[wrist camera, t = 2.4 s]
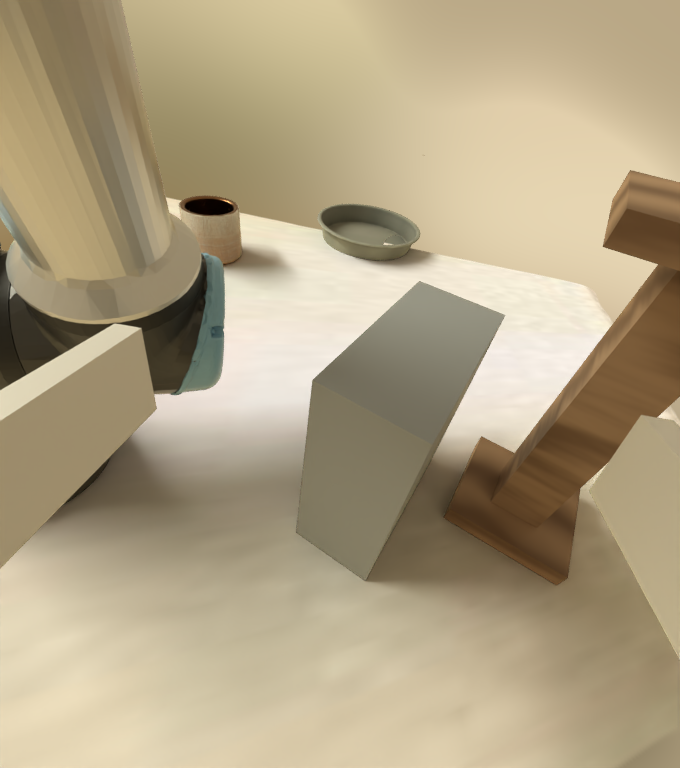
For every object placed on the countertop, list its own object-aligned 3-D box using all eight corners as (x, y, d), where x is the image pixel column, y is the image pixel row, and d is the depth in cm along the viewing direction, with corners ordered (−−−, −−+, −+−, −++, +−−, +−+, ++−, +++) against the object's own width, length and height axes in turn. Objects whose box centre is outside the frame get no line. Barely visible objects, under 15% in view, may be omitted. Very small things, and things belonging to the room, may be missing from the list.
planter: (224, 272, 72) (219, 221, 65) (174, 257, 74) (165, 206, 67) (251, 251, 80) (249, 204, 73) (206, 238, 81) (200, 191, 75)
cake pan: (343, 269, 79) (346, 249, 76) (301, 223, 95) (302, 204, 91) (435, 260, 89) (441, 241, 86) (383, 219, 104) (387, 202, 101)
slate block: (365, 581, 35) (432, 444, 20) (296, 532, 37) (312, 380, 23) (431, 458, 46) (505, 315, 32) (375, 427, 49) (419, 281, 34)
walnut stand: (566, 591, 37) (1013, 316, 15) (435, 512, 41) (626, 208, 19) (579, 500, 44) (881, 232, 23) (468, 442, 49) (630, 170, 27)
